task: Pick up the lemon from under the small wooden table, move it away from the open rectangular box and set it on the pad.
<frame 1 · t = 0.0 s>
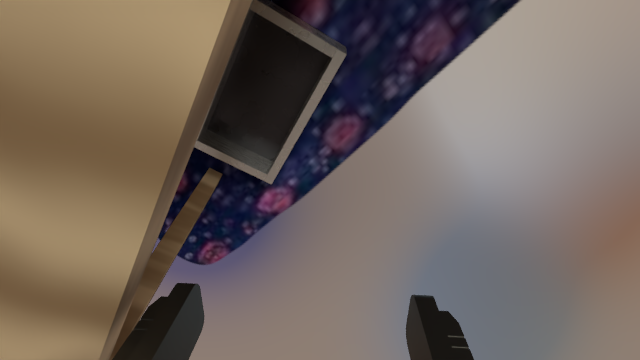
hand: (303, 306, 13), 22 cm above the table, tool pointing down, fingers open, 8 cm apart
open rectangular box: (266, 91, 31), on the table
small wooden table: (189, 50, 30), on the table
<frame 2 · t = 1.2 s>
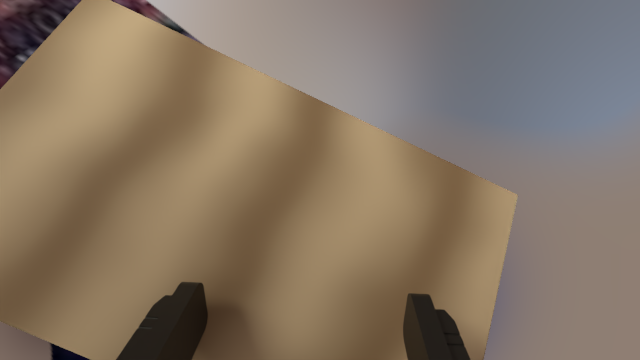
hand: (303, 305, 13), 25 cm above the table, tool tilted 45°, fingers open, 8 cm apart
small wooden table: (251, 259, 37), on the table
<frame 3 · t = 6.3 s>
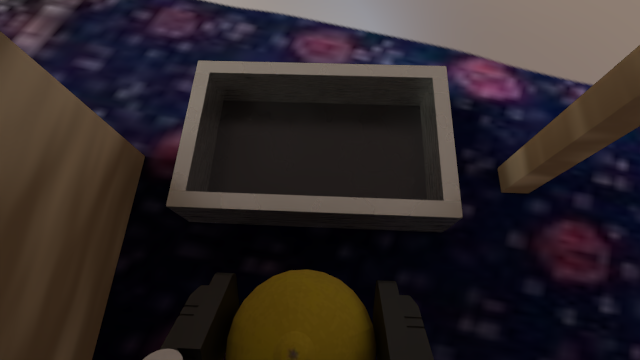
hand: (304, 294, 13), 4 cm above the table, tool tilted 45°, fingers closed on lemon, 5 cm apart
lemon: (308, 337, 17), on the table, touching gripper
open rectangular box: (318, 156, 20), on the table
small wooden table: (311, 284, 18), on the table
when the fingers open (6 cm above the table, at t = 9.8 s): lemon stays where it is, resting on pad.
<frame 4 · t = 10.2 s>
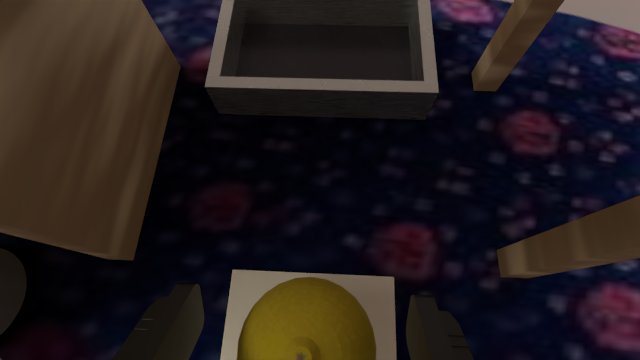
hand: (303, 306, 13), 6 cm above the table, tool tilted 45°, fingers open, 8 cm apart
pad: (309, 331, 18), on the table
lemon: (312, 339, 18), resting on pad
open rectangular box: (323, 65, 25), on the table
small wooden table: (319, 157, 22), on the table
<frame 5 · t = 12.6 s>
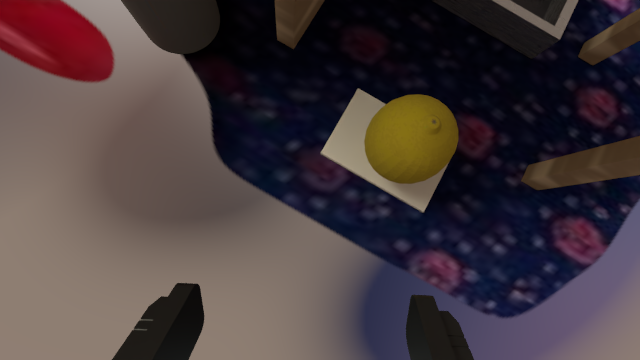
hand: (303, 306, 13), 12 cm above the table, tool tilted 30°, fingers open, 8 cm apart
pad: (388, 150, 27), on the table
bottle: (183, 21, 27), on the table
lemon: (389, 154, 26), resting on pad
small wooden table: (445, 46, 28), on the table
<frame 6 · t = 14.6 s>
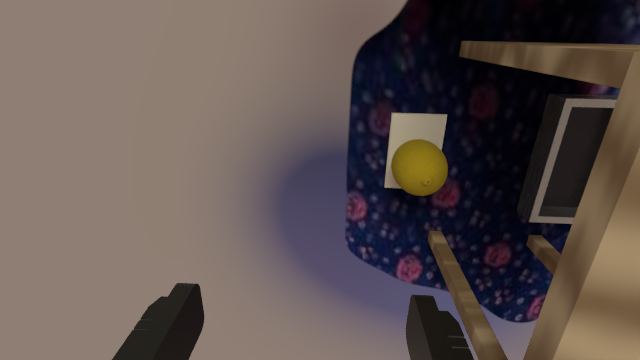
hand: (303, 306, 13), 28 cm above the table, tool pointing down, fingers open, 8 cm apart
pad: (413, 152, 39), on the table
lemon: (410, 153, 39), resting on pad
open rectangular box: (570, 156, 39), on the table
small wooden table: (504, 154, 39), on the table
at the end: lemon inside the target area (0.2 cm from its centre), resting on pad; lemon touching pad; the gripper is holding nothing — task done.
